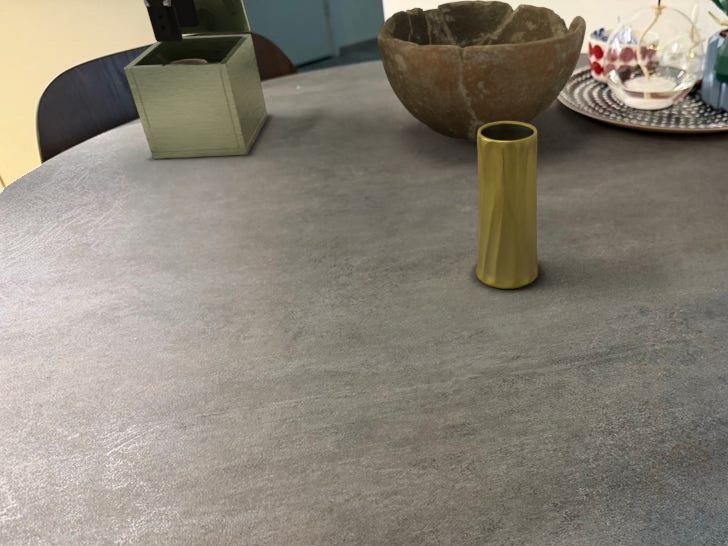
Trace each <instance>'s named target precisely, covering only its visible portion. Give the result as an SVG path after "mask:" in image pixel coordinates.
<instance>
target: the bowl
mask: <svg viewBox="0 0 728 546" xmlns="http://www.w3.org/2000/svg"><path fill="white" fill-rule="evenodd" d="M586 30H587V21H586V20H585V18H584V17H582V16H581V15H576V16H575V17H573V19H572V21H571V22H570V24H569V26H568V27H567V24H566V21H565V19H564V18H561V16H560V15H559V14H558V13H556V12H555V11H554V10H553V9H551V8H548V7H545V6H536V5H533V4H526V3H525V4H524V3H520V4H518V6H517V7H516V8H514V9H513V7H512V5H511V4H509V3H508V2H504V1H500V0H459V1H450V2H445V3H442V4H438V5H437V7H436V8H429V9H426V10H425V9H423V8H421V7H413V8H411V9H406V10H405V11H404V10H400V11H397V12H394V13H393V14H392V15H391V16H389V17H387V19H386V20H385V22H383V23H382V24H381V27H380V28H379V30H378V33H377V36H376V37H377V46H378V51H379V56H380V60H381V62H382V66H383V70H384V72H385V75H386V79H387V80H388V82H389V86H390V87H391V90H392V91H393V93H394V94H395V96H396V97H397V99H398V100H399V102H400V103H401V105H402V106H403V107H404V108H405V109H406V111H407V112H408V113H409V114H410V115H411V116H413V118H415V119H416V120H417V121H418V122H420V123H422V124H423V125H425V126H426V127H427V128H429V129H430V130H432V131H433V132H435V133H437V134H439V135H442V136H443V137H444V136H445V137H447V138H450V139H453V140H458V141H467V142H477V133H478V129H479V128H480V127H482V126H483V125H485V124H488V123H493V122H498V121H517V122H523V123H527V124H530V123H532V122H534V121H535V120H537V118H539V117H540V116H541V115H542V114H544V113H545V112H546V111H547V110H548V109H549V108H550V107H551V105H553V103H555V101H556V100H557V99H558V97H559V96H560V94H561V92H563V90H564V89H565V87H566V85H567V84H568V82H569V80H570V79H571V77H572V76H573V73H574V71H575V70H576V67H577V65H578V61H579V59H580V56H581V53H582V48H583V45H584V41H585V36H586Z"/></svg>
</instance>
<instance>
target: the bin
mask: <svg viewBox="0 0 728 546" xmlns="http://www.w3.org/2000/svg"><path fill="white" fill-rule="evenodd" d="M182 37H183V38H182V40H181V41H174V42H158V41H155V42H154V43H153V44H152V45H151V46H149V47H148V48H147V49H146V50H144V51H143V52H141V54H140V55H138V56H137V57H136V58H135V59H133V60H132V61H131V62H129V63H128V64H127V65H126V66H124V68H123V70H124V73H125V75H126V79H127V82H128V86H129V88H130V91H131V95H132V97H133V101H134V104H135V107H136V110H137V113H138V117H139V119H140V120H139V121H140V123H141V125H142V129H143V133H144V135H145V139H146V141H147V144H148V148H149V151H150V155H151V157H152V159H153V160H161V159H180V158H205V157H227V156H230V157H231V156H247V155H248V154H249V152H250V150H251V149H252V147H253V145H254V143H255V142H256V139H257V138H258V135H259V134H260V132H261V130H262V128H263V126H264V124H265V123H266V121H267V119H268V118H269V114H268V111H267V106H266V101H265V96H264V91H263V86H262V81H261V77H260V72H259V65H258V62H257V57H256V52H255V47H254V43H253V38H252V34H251V33H245V34H244V33H242V34H221V35H220V34H219V35H217V34H216V35H195V36H194V35H192V36H190V35H189V36H182ZM159 54H160V55H161V56H162V57H163V58H165V59H166V60H167V61H169V62H170V63H171V62H174V61H178V60H183V59H202V60H206V61H208V62H209V63H194V64H169V65H167V64H166V63H165V62H163V61H162V60H161V59H160V58H159V57H158V56H157V55H159Z"/></svg>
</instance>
